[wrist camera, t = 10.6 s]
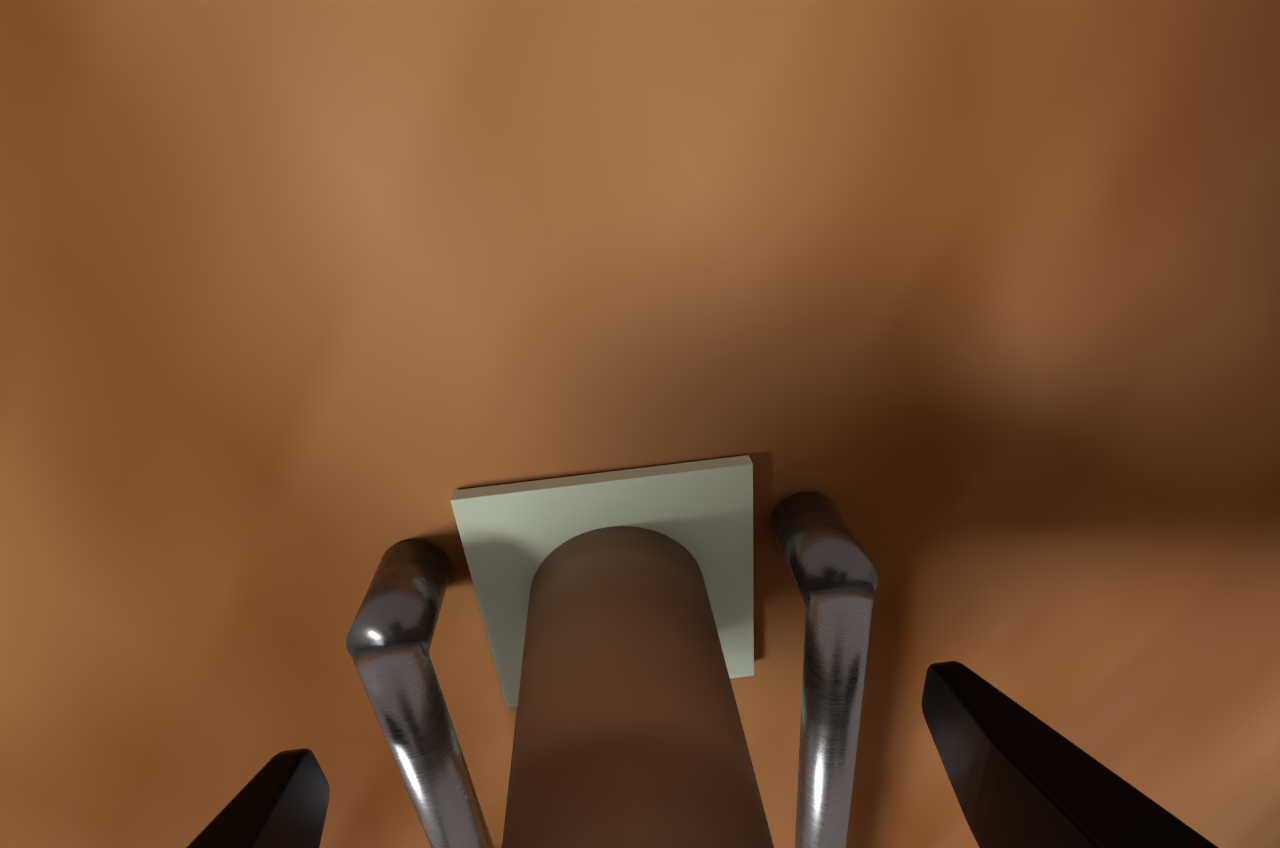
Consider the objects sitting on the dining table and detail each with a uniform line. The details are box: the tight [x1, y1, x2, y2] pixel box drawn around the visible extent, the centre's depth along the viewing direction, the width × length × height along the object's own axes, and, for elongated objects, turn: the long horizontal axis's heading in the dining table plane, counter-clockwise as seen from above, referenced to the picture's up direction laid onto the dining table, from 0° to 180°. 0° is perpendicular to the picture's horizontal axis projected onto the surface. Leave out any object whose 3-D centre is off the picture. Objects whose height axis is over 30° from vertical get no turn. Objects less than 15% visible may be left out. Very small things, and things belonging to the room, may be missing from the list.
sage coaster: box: [450, 455, 754, 708], centre depth 11 cm, size 5×5×1 cm
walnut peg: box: [502, 526, 774, 848], centre depth 8 cm, size 3×3×8 cm
